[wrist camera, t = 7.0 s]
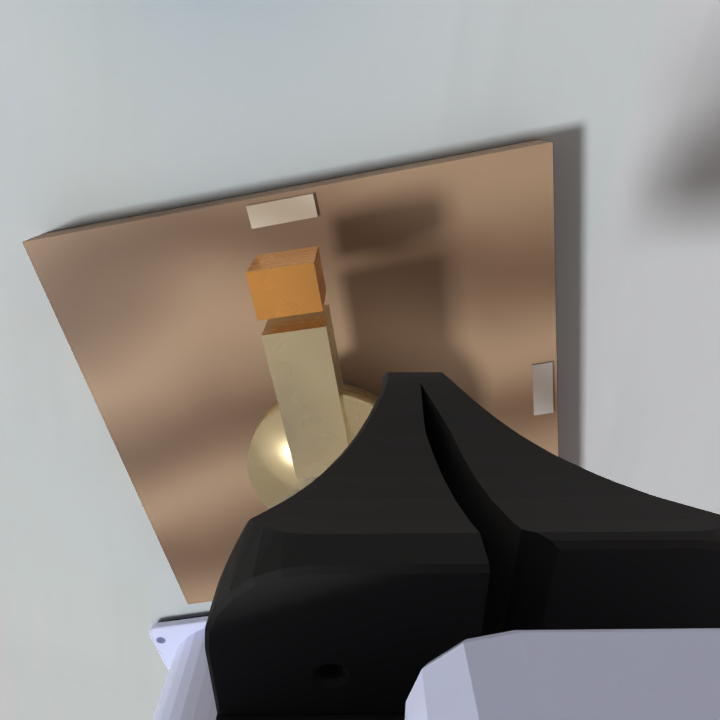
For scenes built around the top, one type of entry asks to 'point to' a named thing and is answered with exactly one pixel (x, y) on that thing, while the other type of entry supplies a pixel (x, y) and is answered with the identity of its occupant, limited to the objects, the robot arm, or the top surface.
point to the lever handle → (299, 378)
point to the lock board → (343, 294)
